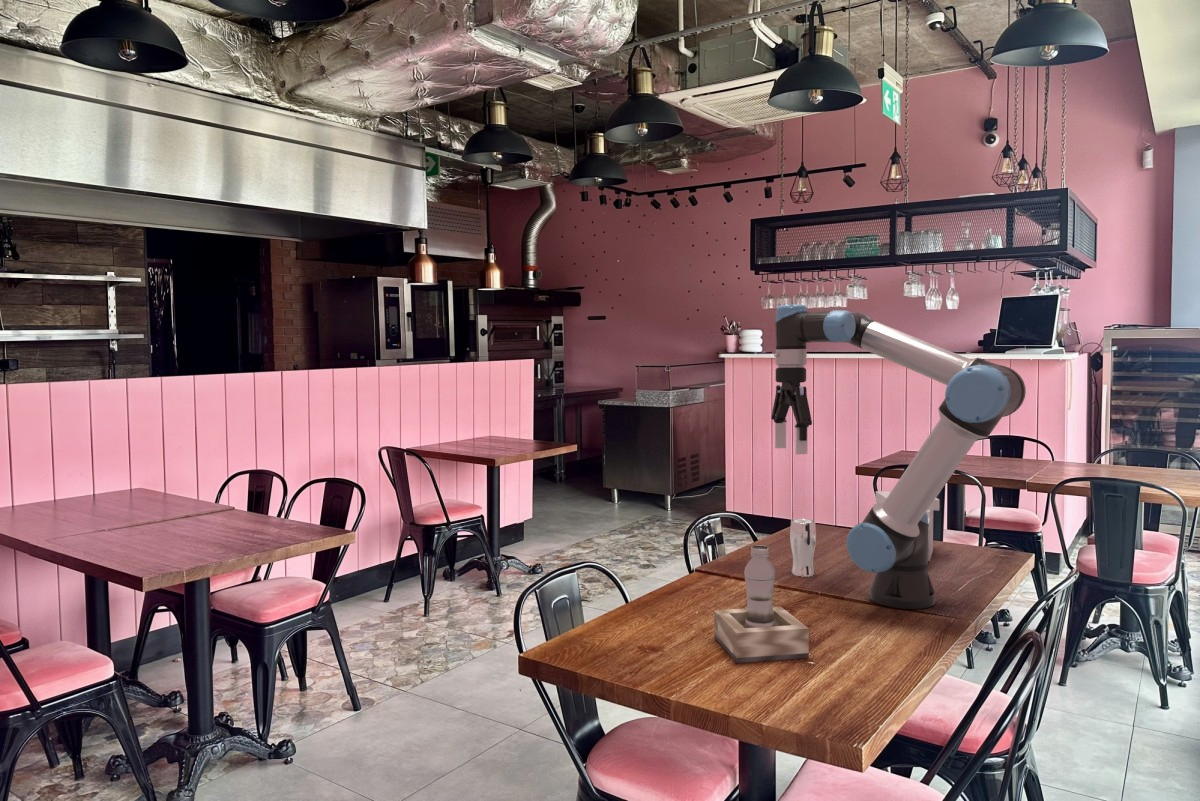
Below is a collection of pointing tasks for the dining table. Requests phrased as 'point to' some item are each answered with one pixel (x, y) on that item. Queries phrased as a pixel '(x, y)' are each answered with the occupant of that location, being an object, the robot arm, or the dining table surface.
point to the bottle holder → (761, 636)
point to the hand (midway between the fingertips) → (790, 451)
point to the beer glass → (803, 546)
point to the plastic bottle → (759, 589)
